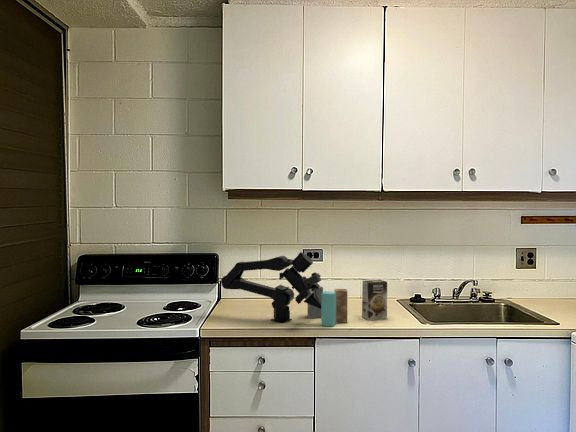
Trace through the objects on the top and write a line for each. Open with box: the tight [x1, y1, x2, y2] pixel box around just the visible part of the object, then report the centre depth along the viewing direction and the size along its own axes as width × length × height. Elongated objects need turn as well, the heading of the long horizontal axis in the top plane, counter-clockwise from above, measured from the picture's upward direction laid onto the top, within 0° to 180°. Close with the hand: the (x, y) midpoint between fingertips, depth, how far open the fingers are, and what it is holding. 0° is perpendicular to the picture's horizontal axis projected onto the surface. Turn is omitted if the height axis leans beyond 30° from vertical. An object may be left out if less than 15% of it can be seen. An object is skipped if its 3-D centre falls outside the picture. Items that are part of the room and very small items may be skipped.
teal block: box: [320, 290, 337, 327], centre depth 181 cm, size 5×5×13 cm
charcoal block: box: [307, 286, 324, 319], centre depth 194 cm, size 5×5×13 cm
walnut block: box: [334, 288, 348, 323], centre depth 186 cm, size 5×5×13 cm
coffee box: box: [361, 279, 388, 321], centre depth 191 cm, size 9×6×16 cm
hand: (322, 308), depth 182 cm, fingers closed
